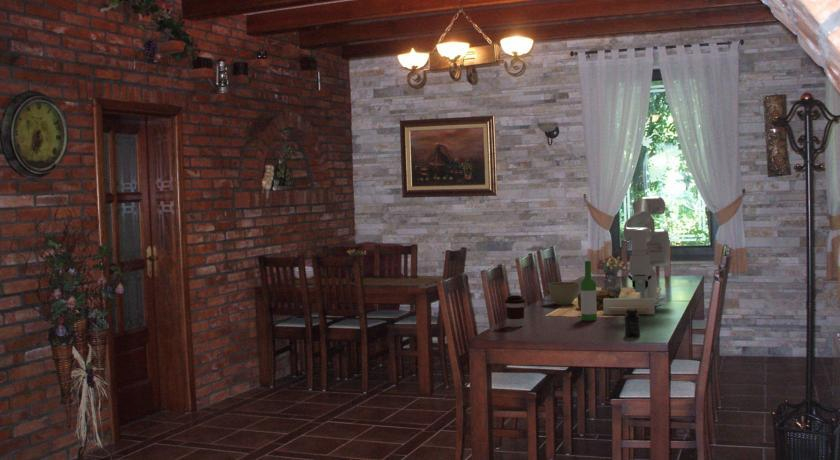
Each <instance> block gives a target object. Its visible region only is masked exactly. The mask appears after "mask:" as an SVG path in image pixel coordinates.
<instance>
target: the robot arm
mask: <svg viewBox="0 0 840 460" xmlns="http://www.w3.org/2000/svg"><path fill="white" fill-rule="evenodd" d="M666 207H667V206H666V202H665V200H664V199H663V198H662V197H661V196H641V197H639V198H638V199H636V200H634V201H633V202H632V210H633V212H634V214H633V215H632V216H630V217H629V218H628V219H627V220H626V222H624V224H623V225H624V226H623V234H622V237H623V240H624V241H625V242H627V243H631V255H630V256H629V265H628V266H629V268H628V270H627V271H626V272H625V273H624V276H626V277H627V278H628V279H629V280H630V281H631V284H632V285H631V288H633V289H634V290H635V275H645V291H646V292H639V299H654V307H658V306H661V302H665V301H666V298H665V297H660V296H658V282H657V280H658V279H657V277H658V276H657V271H655V269H654V268H653V267H659V266H660V267H662V266H663V267H665V266H669V264H670V257H671V256H670V255H671V254H670V236H669V232H668V231H667V230H666V229H663V228H662V229H660V228H659V229H657V228H655V219H654V218H653V217H654V216H655V215H657V216H658V215H663V214H665V212H666V209H667V208H666ZM653 215H654V216H653ZM648 247H660V248H648Z"/></svg>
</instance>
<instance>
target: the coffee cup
mask: <svg viewBox="0 0 840 460" xmlns="http://www.w3.org/2000/svg"><path fill="white" fill-rule="evenodd" d="M525 303H526V299H525V298H523V296H522V295H519V294H518V295H516V294H514V295H513V294H512V295H508V296H507V297H506V298H505V299H504V304H505V310H506V318H507V326H508V327H510V328H521V327H520V326H522V327H524V319H525Z"/></svg>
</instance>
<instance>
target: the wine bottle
mask: <svg viewBox="0 0 840 460" xmlns="http://www.w3.org/2000/svg"><path fill="white" fill-rule="evenodd" d="M591 263H592V262H591V260H585V261H584V277H583V279H581V281H580V293H581V309H580V313H581V314H580V317H581V320H582V321H583V322H594V321H595V322H596V321H597V319H598V313H597V311H598V309H597V303H596V291H597V282H596V281H595V278H593V277H592V267H591V266H592V264H591Z"/></svg>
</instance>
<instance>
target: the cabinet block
mask: <svg viewBox="0 0 840 460" xmlns="http://www.w3.org/2000/svg"><path fill="white" fill-rule="evenodd" d="M634 280H635V289H634V290H635V291H634V293H640V292H646V291H645V275H635V279H634Z"/></svg>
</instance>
